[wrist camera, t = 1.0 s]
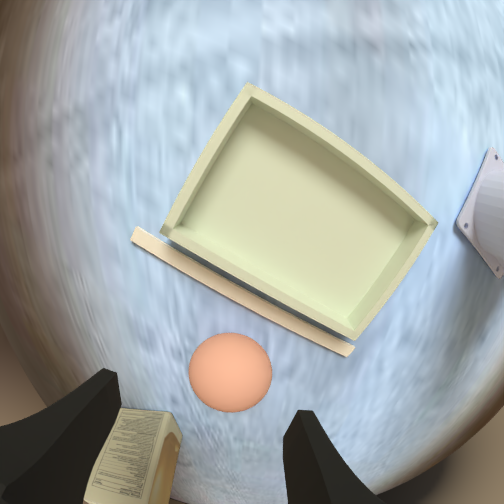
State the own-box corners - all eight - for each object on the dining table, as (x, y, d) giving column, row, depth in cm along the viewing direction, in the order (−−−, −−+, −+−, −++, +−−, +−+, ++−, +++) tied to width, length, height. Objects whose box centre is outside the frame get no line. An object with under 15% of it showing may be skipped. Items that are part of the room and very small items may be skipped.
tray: (420, 216, 16) (438, 222, 14) (345, 324, 19) (354, 340, 17) (248, 93, 14) (247, 82, 12) (170, 224, 17) (159, 232, 15)
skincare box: (134, 429, 24) (102, 514, 12) (118, 405, 22) (76, 496, 11) (186, 435, 23) (165, 531, 12) (174, 411, 22) (143, 519, 10)
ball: (285, 338, 19) (293, 392, 14) (246, 384, 20) (244, 436, 15) (217, 304, 18) (204, 353, 13) (185, 355, 20) (168, 406, 14)
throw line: (354, 345, 19) (355, 348, 19) (346, 354, 20) (346, 357, 19) (137, 226, 17) (135, 227, 16) (132, 238, 17) (130, 239, 17)
